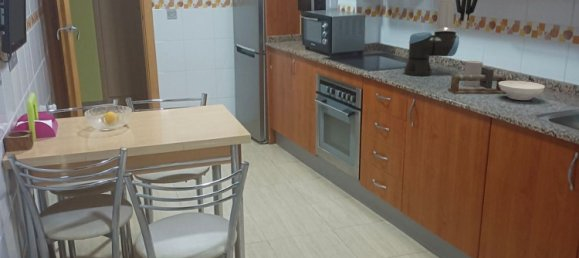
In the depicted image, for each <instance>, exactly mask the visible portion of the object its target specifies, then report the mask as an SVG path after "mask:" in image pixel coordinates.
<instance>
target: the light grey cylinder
mask: <svg viewBox="0 0 579 258" xmlns="http://www.w3.org/2000/svg"><path fill="white" fill-rule="evenodd" d="M464 67H465V68H464V75H481V68H482V67H483V61H480V60H479V61H478V60H466V61H465V65H464ZM462 85H463V86H464V87H465V86H467V87H474V88H475V87H476V88H477V87H481V86H480V81H463V84H462Z"/></svg>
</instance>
